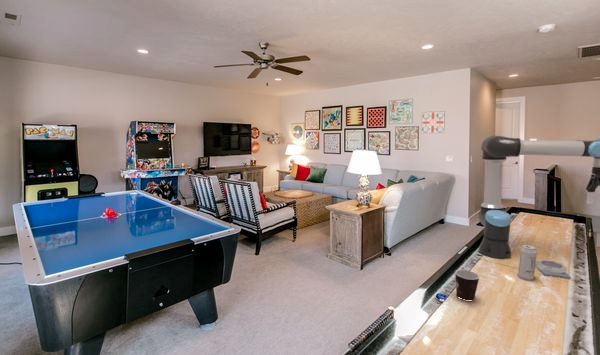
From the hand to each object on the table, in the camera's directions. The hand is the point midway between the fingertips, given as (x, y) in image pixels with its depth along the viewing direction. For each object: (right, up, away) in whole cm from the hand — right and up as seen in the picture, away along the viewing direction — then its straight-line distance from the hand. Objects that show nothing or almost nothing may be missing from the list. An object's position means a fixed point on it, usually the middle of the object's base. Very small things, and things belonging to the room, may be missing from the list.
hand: (596, 206), depth 162 cm
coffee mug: (-90, -34, -38) cm, 103 cm away
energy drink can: (-52, -31, -20) cm, 64 cm away
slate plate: (-35, -30, -13) cm, 48 cm away
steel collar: (-35, -30, -13) cm, 48 cm away
